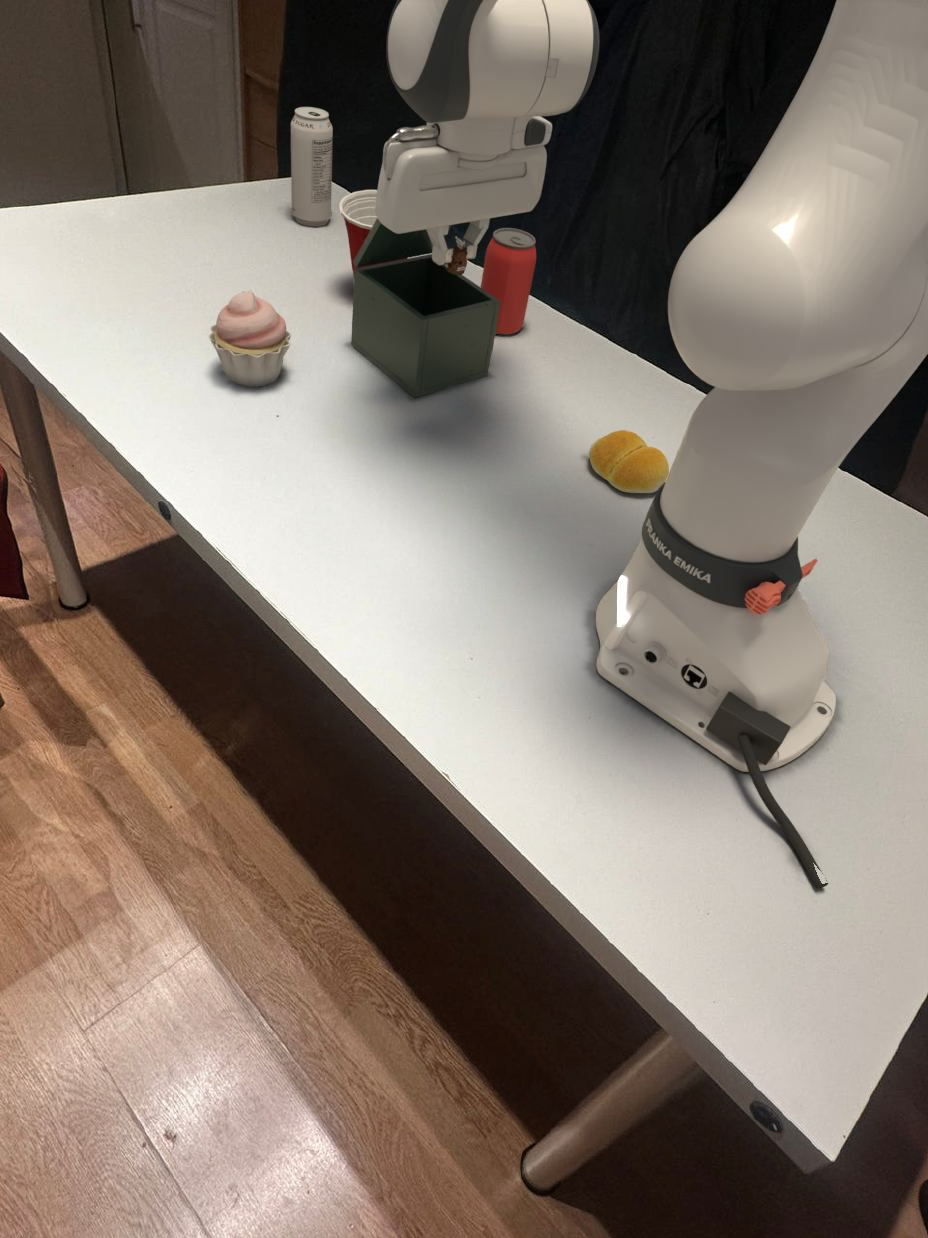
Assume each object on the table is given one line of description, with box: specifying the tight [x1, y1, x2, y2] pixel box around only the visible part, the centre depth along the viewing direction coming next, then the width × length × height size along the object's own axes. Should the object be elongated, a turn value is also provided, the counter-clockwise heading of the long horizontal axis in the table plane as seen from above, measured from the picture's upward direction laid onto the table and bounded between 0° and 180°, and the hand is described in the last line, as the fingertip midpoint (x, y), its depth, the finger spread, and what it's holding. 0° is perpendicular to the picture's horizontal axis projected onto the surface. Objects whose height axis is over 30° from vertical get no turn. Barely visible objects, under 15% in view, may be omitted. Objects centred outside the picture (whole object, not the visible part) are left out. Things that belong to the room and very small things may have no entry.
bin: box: [350, 253, 501, 399], centre depth 101 cm, size 14×12×10 cm
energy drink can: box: [290, 106, 334, 227], centre depth 124 cm, size 6×6×15 cm
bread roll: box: [589, 429, 670, 494], centre depth 92 cm, size 8×9×4 cm
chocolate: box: [444, 236, 468, 275], centre depth 92 cm, size 3×2×4 cm
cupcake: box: [208, 289, 293, 387], centre depth 93 cm, size 9×9×10 cm
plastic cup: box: [338, 189, 408, 276], centre depth 110 cm, size 11×11×12 cm
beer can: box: [480, 227, 537, 335], centre depth 109 cm, size 7×7×12 cm
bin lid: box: [353, 218, 453, 268], centre depth 94 cm, size 14×12×5 cm
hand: (453, 259), depth 92 cm, fingers closed on chocolate, 2 cm apart
